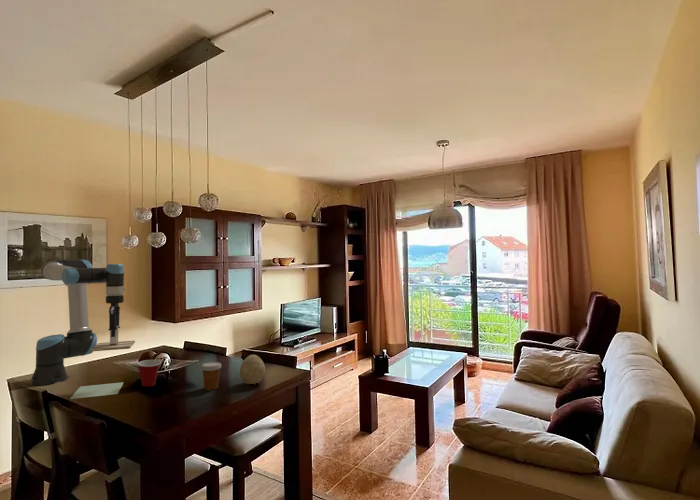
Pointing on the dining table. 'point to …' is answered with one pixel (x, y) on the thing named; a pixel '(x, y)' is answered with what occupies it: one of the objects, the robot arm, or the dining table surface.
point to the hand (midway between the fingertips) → (114, 342)
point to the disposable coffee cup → (211, 374)
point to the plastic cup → (148, 372)
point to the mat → (97, 390)
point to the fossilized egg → (252, 370)
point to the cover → (113, 345)
